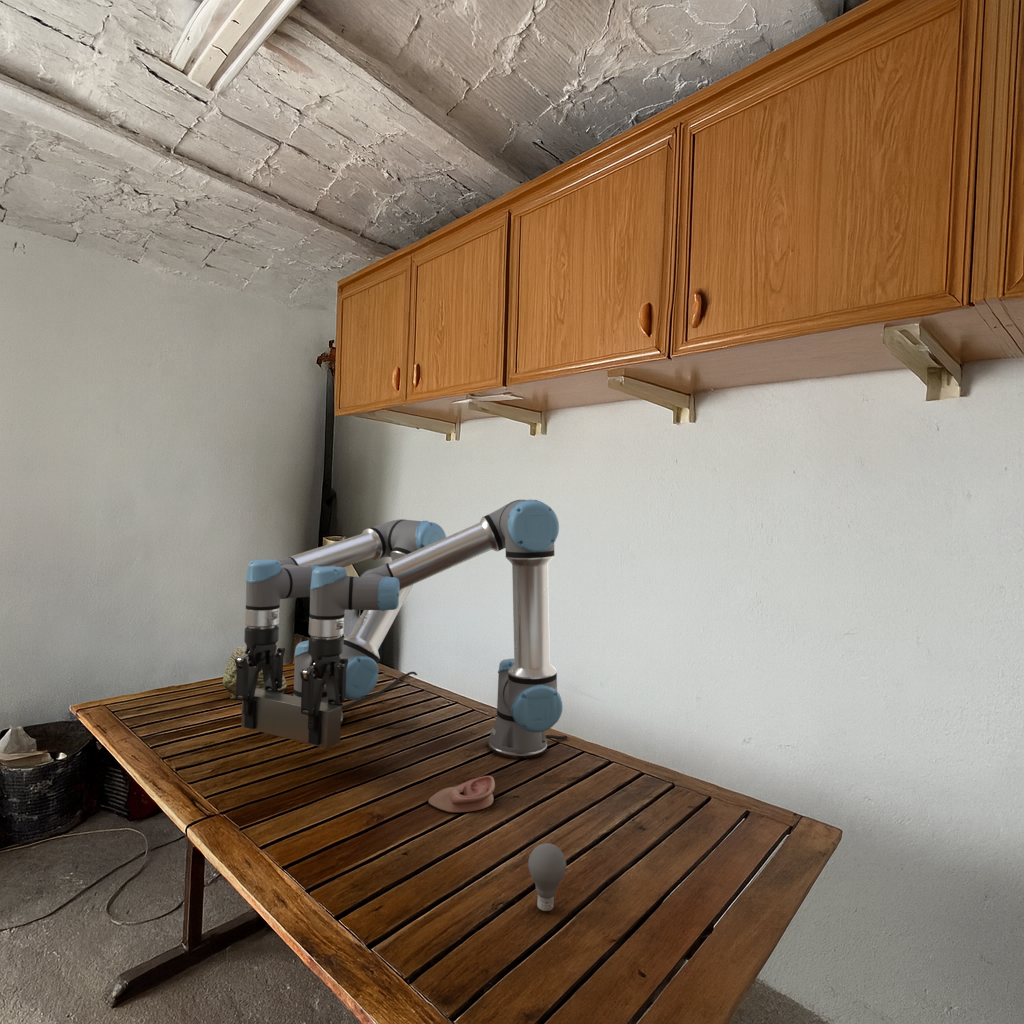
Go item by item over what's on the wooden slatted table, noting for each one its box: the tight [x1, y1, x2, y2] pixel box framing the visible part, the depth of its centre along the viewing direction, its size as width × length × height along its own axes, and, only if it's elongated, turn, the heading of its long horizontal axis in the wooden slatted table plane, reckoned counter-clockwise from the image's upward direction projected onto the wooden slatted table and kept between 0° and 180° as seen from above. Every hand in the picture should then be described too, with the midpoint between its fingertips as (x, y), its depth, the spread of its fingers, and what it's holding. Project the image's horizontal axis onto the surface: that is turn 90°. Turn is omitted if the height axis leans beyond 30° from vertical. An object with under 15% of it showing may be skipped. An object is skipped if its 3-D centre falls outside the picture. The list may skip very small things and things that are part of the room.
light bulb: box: [527, 842, 567, 912], centre depth 100 cm, size 6×6×10 cm
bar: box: [240, 688, 342, 749], centre depth 146 cm, size 25×5×8 cm, turn 66°
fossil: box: [222, 646, 288, 699], centre depth 198 cm, size 9×18×15 cm, turn 132°
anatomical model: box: [427, 775, 496, 813], centre depth 134 cm, size 13×4×12 cm
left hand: (258, 723), depth 150 cm, fingers closed on bar, 5 cm apart
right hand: (322, 739), depth 142 cm, fingers closed on bar, 5 cm apart
